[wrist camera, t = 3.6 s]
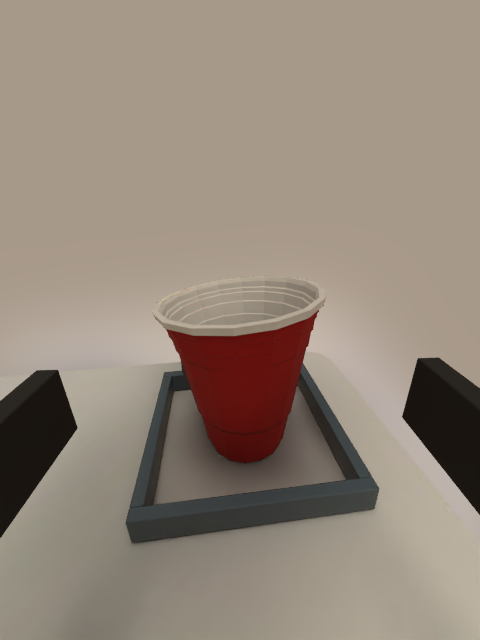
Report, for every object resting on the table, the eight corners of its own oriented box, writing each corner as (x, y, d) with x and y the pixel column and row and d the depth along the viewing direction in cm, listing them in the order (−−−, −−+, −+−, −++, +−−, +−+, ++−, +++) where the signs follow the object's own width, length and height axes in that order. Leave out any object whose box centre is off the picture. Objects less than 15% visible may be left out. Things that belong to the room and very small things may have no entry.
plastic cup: (217, 380, 29) (208, 266, 24) (323, 407, 24) (337, 275, 20) (144, 462, 20) (107, 306, 15) (291, 528, 15) (304, 339, 11)
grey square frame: (374, 509, 16) (407, 381, 13) (131, 543, 15) (90, 411, 11) (300, 374, 29) (306, 292, 26) (166, 386, 28) (152, 301, 24)
